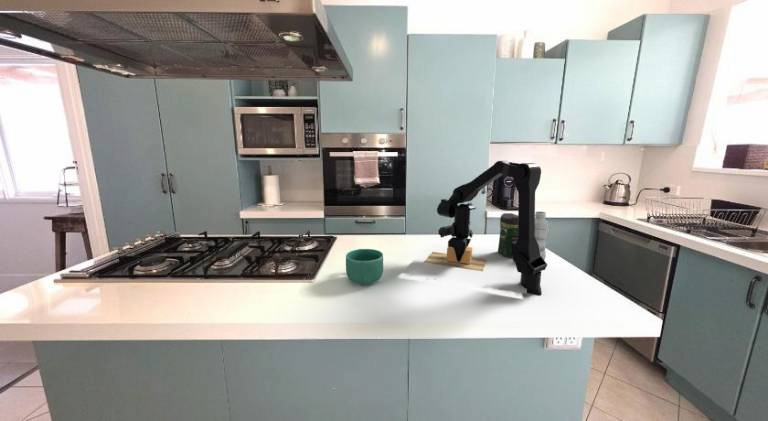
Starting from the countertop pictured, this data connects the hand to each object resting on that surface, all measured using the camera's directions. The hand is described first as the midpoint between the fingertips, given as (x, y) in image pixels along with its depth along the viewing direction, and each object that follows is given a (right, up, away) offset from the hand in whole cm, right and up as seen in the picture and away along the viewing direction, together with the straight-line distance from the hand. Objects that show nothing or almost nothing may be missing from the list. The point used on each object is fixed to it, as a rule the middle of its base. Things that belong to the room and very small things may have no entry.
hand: (459, 259), depth 118 cm
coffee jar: (+23, -1, +9) cm, 24 cm away
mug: (-36, -5, -13) cm, 39 cm away
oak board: (-1, -2, +1) cm, 3 cm away
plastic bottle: (+32, -2, +5) cm, 32 cm away
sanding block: (0, 0, 0) cm, 0 cm away
